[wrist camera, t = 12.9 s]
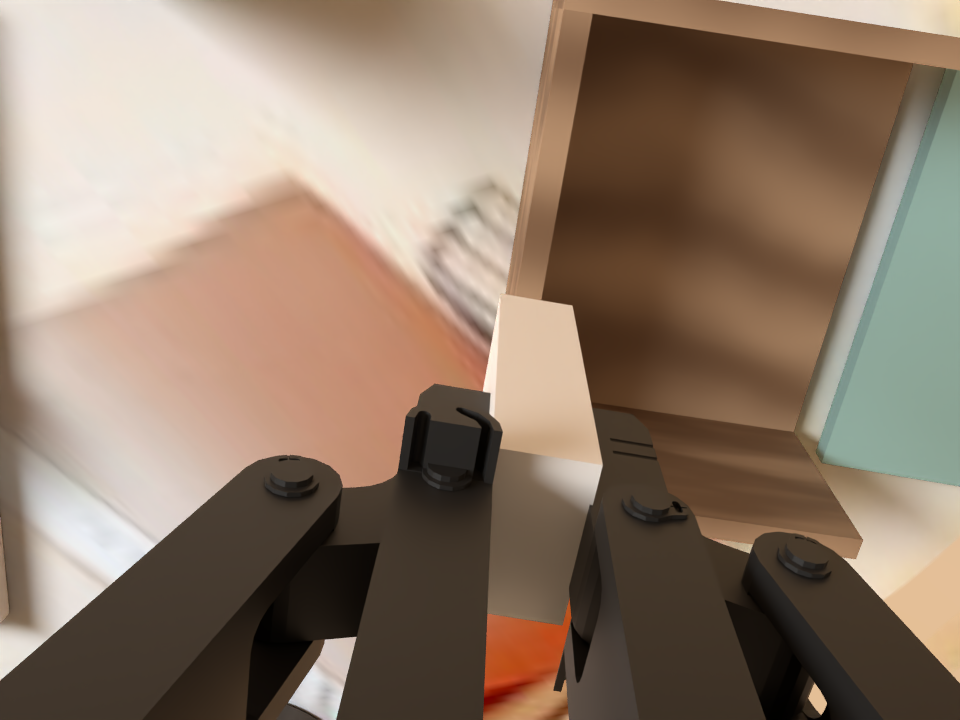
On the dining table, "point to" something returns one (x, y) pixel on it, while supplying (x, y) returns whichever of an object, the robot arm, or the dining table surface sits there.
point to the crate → (710, 228)
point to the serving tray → (3, 583)
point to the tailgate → (910, 327)
